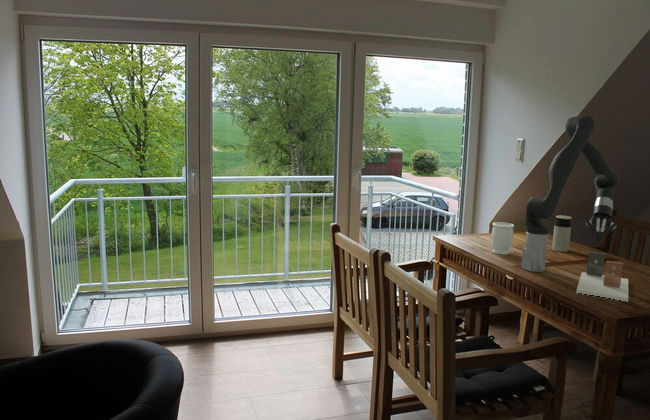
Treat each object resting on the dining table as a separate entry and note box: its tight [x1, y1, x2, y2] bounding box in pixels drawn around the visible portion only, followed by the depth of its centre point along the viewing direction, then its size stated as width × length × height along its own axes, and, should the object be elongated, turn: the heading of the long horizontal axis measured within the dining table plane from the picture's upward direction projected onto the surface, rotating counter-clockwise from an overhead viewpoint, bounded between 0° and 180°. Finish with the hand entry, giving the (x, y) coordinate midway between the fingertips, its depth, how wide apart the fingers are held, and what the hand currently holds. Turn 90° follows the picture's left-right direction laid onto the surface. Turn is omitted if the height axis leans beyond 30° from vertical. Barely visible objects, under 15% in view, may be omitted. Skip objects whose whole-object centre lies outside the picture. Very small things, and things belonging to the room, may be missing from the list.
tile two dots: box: [603, 260, 624, 288], centre depth 218 cm, size 2×6×10 cm, turn 61°
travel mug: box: [551, 215, 572, 253], centre depth 282 cm, size 8×8×18 cm
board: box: [575, 271, 629, 303], centre depth 222 cm, size 29×18×2 cm, turn 151°
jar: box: [491, 221, 515, 256], centre depth 273 cm, size 11×10×15 cm
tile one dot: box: [586, 250, 606, 277], centre depth 232 cm, size 2×6×10 cm, turn 61°
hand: (598, 240), depth 238 cm, fingers closed
